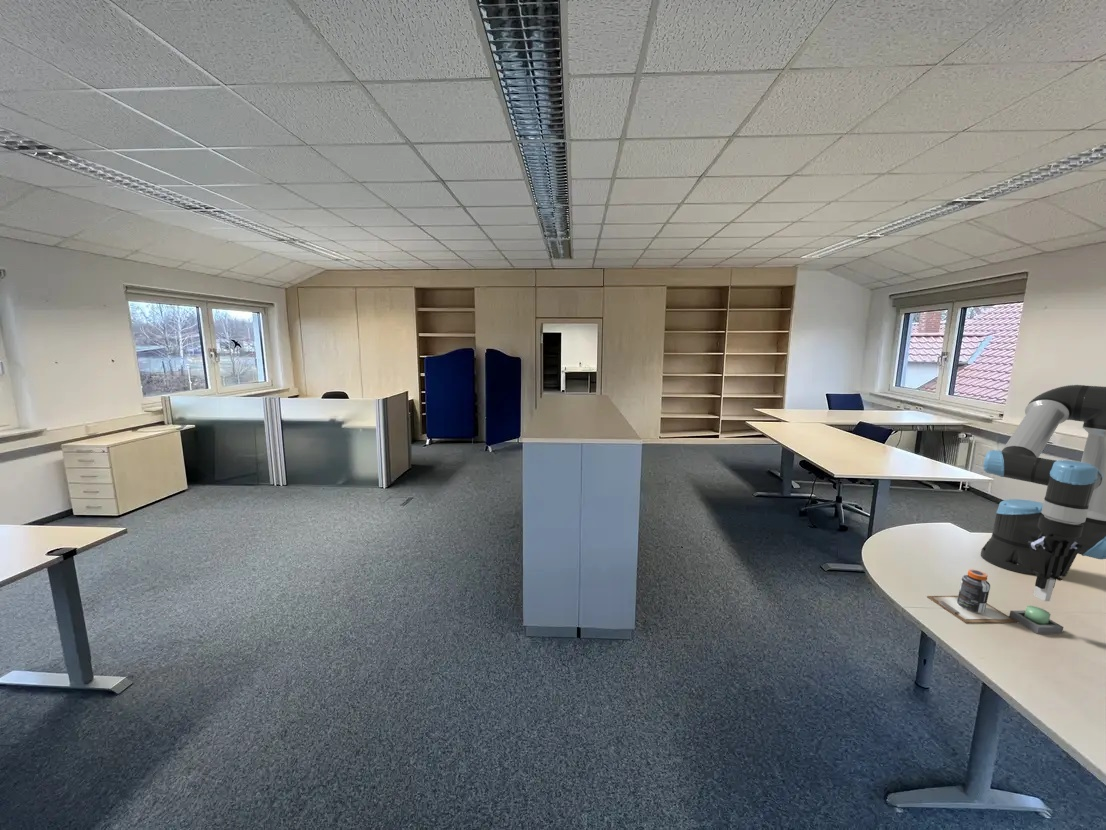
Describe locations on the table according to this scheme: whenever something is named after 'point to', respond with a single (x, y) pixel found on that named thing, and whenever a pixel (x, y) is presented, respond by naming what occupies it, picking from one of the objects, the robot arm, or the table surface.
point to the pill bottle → (974, 591)
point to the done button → (1037, 615)
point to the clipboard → (968, 616)
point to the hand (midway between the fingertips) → (1041, 598)
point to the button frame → (1039, 629)
